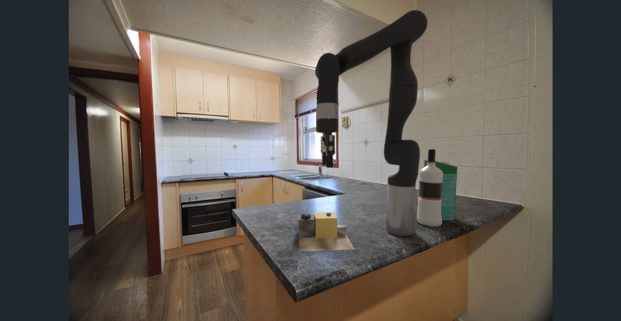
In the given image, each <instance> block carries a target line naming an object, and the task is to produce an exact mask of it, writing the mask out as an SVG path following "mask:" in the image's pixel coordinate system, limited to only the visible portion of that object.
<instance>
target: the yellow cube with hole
mask: <svg viewBox="0 0 621 321" xmlns="http://www.w3.org/2000/svg"><path fill="white" fill-rule="evenodd" d="M313 217H314V226H315V237H316V238H337V225H338V216H337V215H336V214H335V212H334V211H319V212H317V211H315V212H313Z"/></svg>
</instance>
